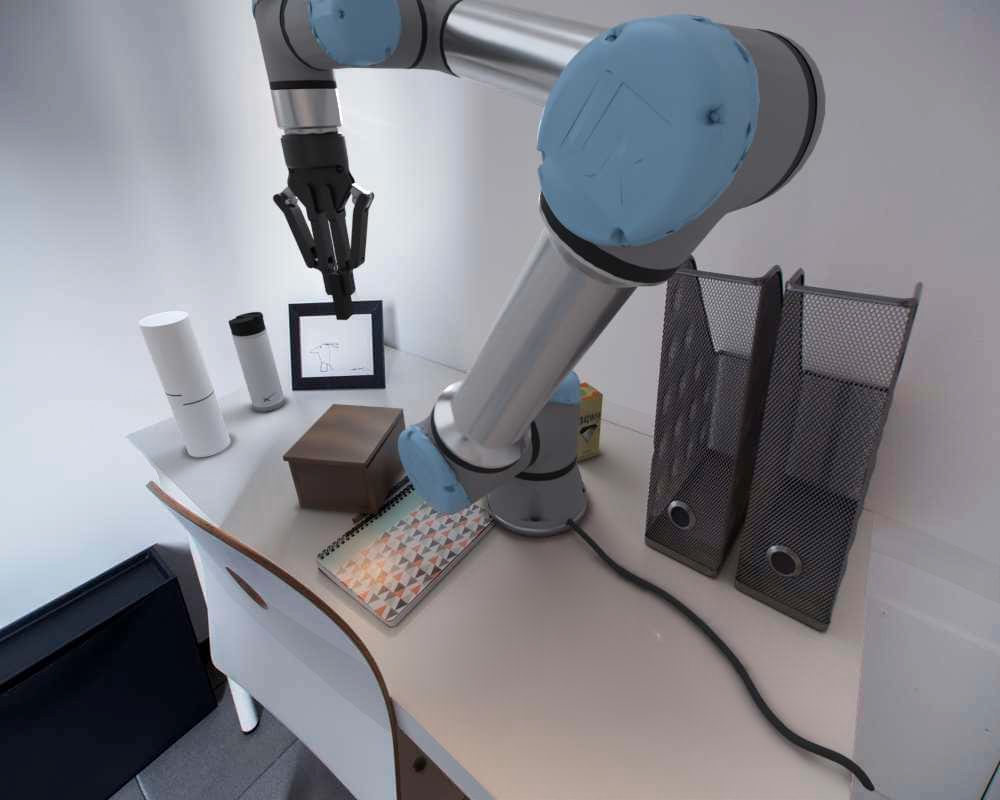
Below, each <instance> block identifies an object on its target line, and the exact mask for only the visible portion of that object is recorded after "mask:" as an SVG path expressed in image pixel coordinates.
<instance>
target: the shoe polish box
mask: <svg viewBox="0 0 1000 800" xmlns="http://www.w3.org/2000/svg"><path fill="white" fill-rule="evenodd" d="M580 396H581V400H582V401H581V403H580V414H579V431H578V447H577V463H578V462H581V461H584V460H587V459H589V458H593V457H595V456H598V455H599V450H600V438H601V425H602V414H603V413H602V412H603V411H602V410H603V399H604V394H603V393H601V392H600V391H599V390H598V389H596V388H595V387H593V386H592V385H590V384H589V383H587V382H580Z"/></svg>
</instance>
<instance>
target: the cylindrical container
mask: <svg viewBox="0 0 1000 800" xmlns="http://www.w3.org/2000/svg"><path fill="white" fill-rule="evenodd" d="M138 326H139V328H140V331H141V333H142V336H143V339H144V342H145V344H146V347H147V349H148V352H149V354H150V357H151V360H152V363H153V364H154V368H155V370H156V372H157V375H158V378H159V381H160V383H161V385H162V388H163V391H164V393H165V396H166V399H167V401H168V403H169V406H170V409H171V411H172V414H173V417H174V419H175V423H176V425H177V428H178V430H179V433H180V436H181V438H182V441H183V442H184V446H185V448H186V450H187V453H188V455H189V456H190V457H194V458H207V457H210V456H214V455H217V454H220V453H221V452H223V451H225V450H226V449H227V448H228V447H229V446H230V444H231V438H230V437H231V436H230V435H229V432H228V429H227V426H226V423H225V420H224V417H223V414H222V411H221V408H220V405H219V401H218V399H217V395H216V392H215V390H214V387H213V384H212V381H211V378H210V375H209V371H208V368H207V366H206V363H205V360H204V357H203V354H202V351H201V348H200V344H199V342H198V339H197V335H196V332H195V330H194V326H193V324H192V320H191V317H190V315H189V313H188V312H187V311H184V310H169V311H162V312H158V313H154V314H151V315H147V316H145V317H143V318H141V319H140V320H139V321H138Z"/></svg>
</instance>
